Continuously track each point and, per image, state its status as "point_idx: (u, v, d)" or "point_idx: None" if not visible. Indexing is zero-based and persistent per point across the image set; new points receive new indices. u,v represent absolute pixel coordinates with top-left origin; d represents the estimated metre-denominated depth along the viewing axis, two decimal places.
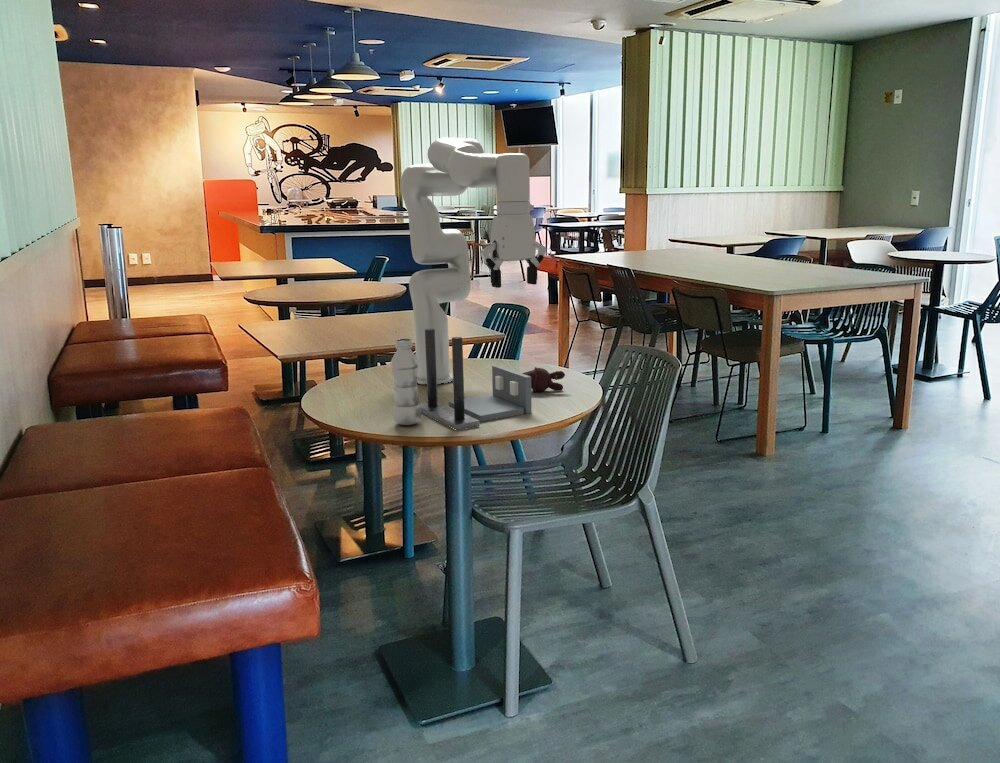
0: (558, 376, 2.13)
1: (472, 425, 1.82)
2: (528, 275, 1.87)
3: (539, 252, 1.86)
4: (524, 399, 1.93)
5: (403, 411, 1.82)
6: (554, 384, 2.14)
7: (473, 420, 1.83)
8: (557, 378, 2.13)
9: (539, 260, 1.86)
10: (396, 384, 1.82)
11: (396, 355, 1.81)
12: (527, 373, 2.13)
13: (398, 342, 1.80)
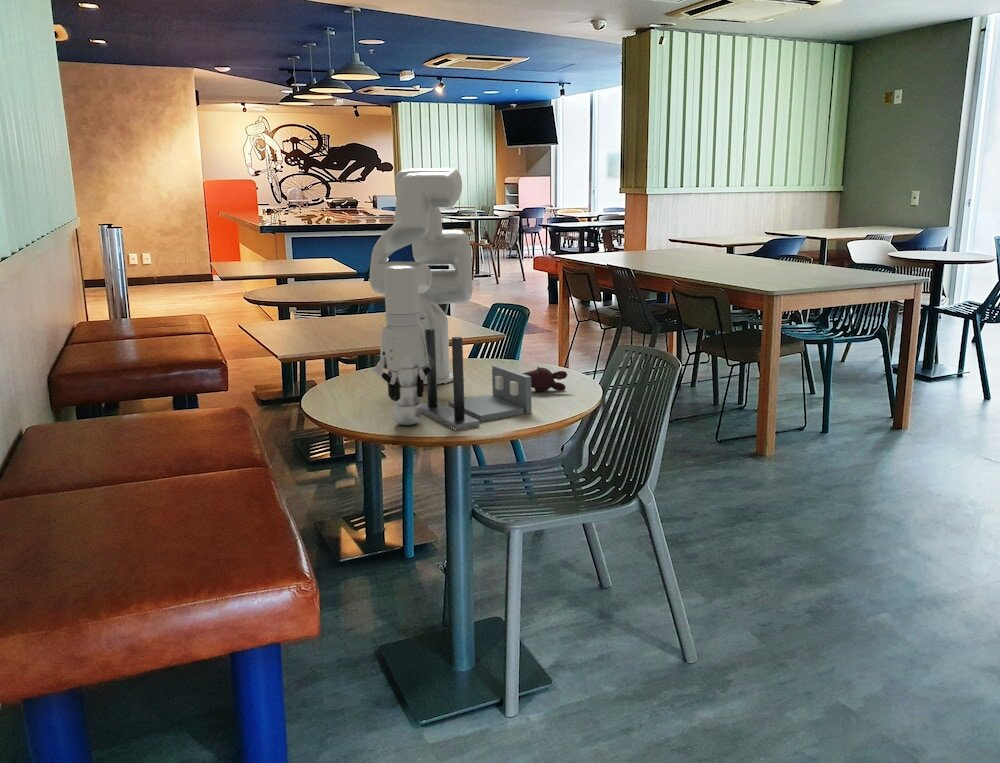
0: (560, 376, 2.13)
1: (472, 425, 1.82)
2: None
3: (427, 364, 1.86)
4: (524, 399, 1.93)
5: (403, 411, 1.82)
6: (556, 384, 2.14)
7: (473, 420, 1.83)
8: (559, 378, 2.13)
9: (425, 373, 1.85)
10: None
11: None
12: (529, 373, 2.13)
13: None
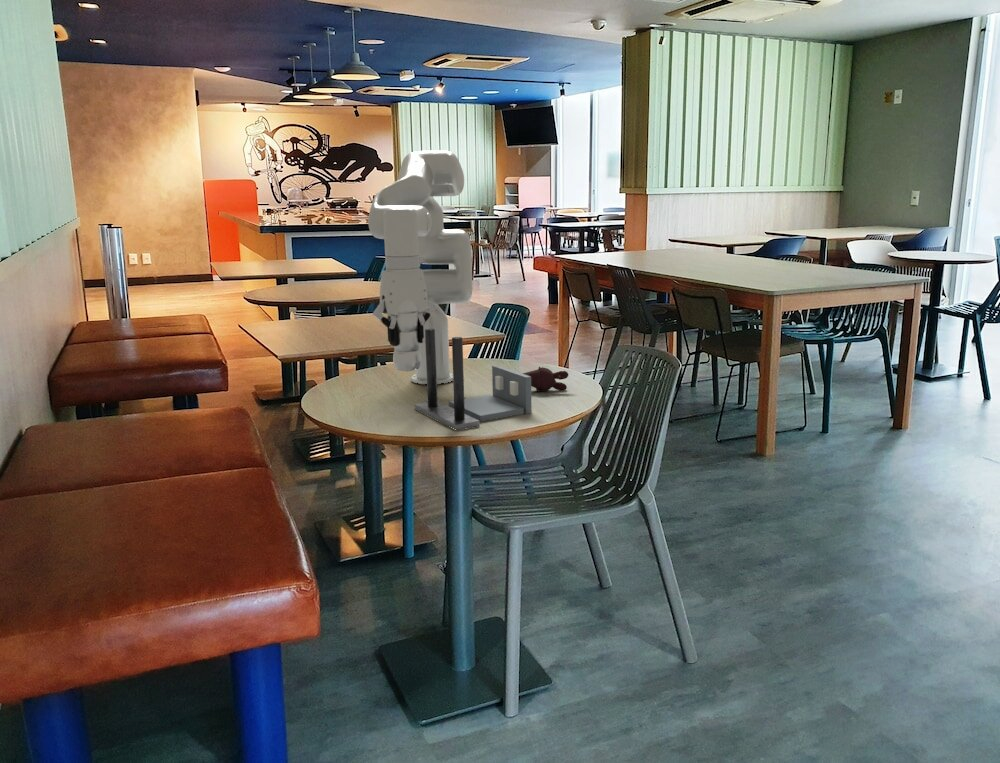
0: (561, 376, 2.13)
1: (472, 425, 1.82)
2: None
3: (427, 310, 1.83)
4: (524, 399, 1.93)
5: (403, 356, 1.80)
6: (558, 384, 2.14)
7: (473, 420, 1.83)
8: (560, 378, 2.13)
9: (425, 318, 1.83)
10: None
11: None
12: (531, 372, 2.13)
13: None
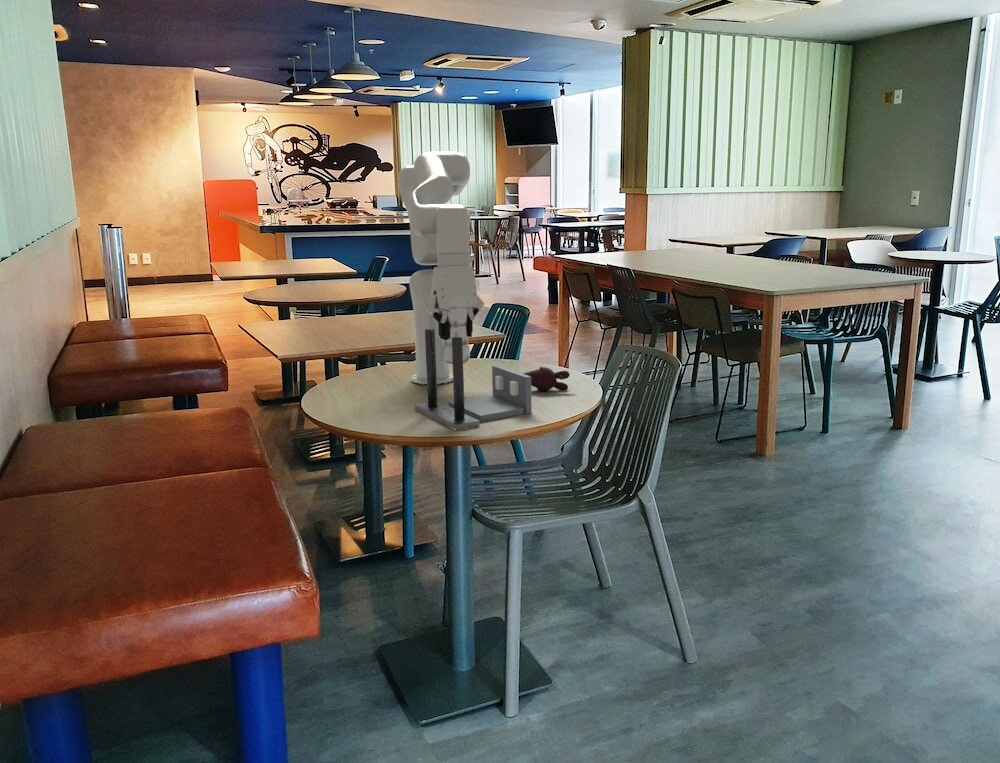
0: (563, 376, 2.13)
1: (472, 425, 1.82)
2: None
3: (476, 305, 1.90)
4: (524, 399, 1.93)
5: None
6: (559, 384, 2.14)
7: (473, 420, 1.83)
8: (562, 378, 2.13)
9: (474, 313, 1.89)
10: None
11: None
12: (532, 372, 2.13)
13: None
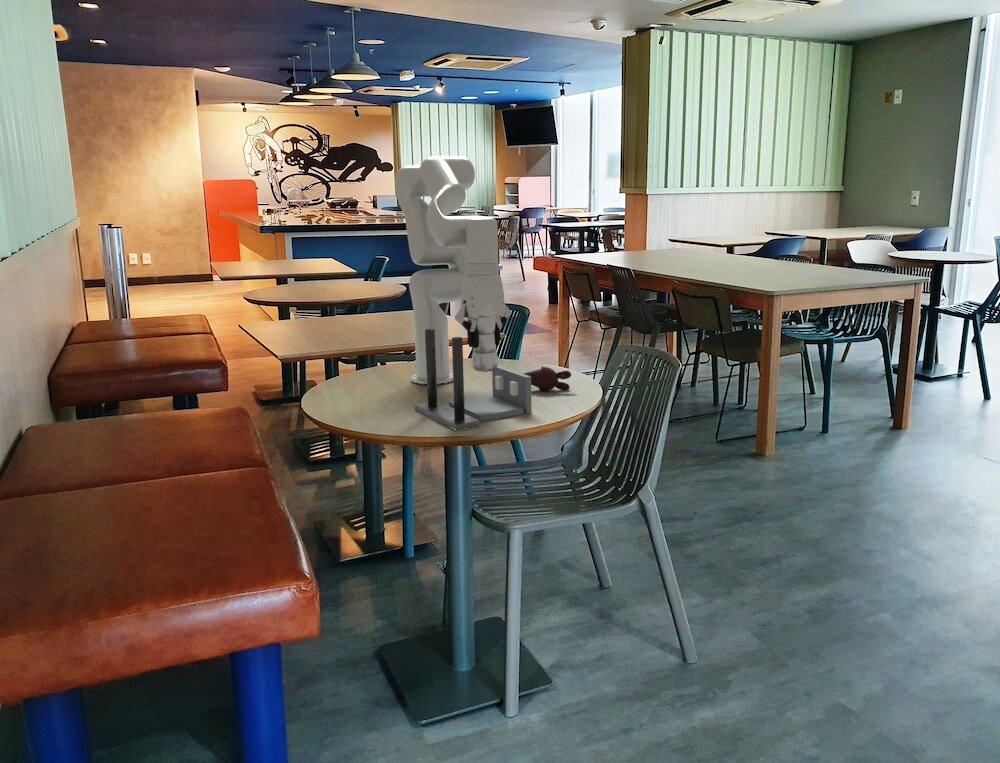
0: (564, 376, 2.13)
1: (472, 425, 1.82)
2: None
3: (503, 314, 1.94)
4: (524, 399, 1.93)
5: (482, 357, 1.90)
6: (560, 384, 2.15)
7: (473, 420, 1.83)
8: (563, 378, 2.13)
9: (502, 322, 1.93)
10: (476, 331, 1.90)
11: None
12: (533, 372, 2.14)
13: None
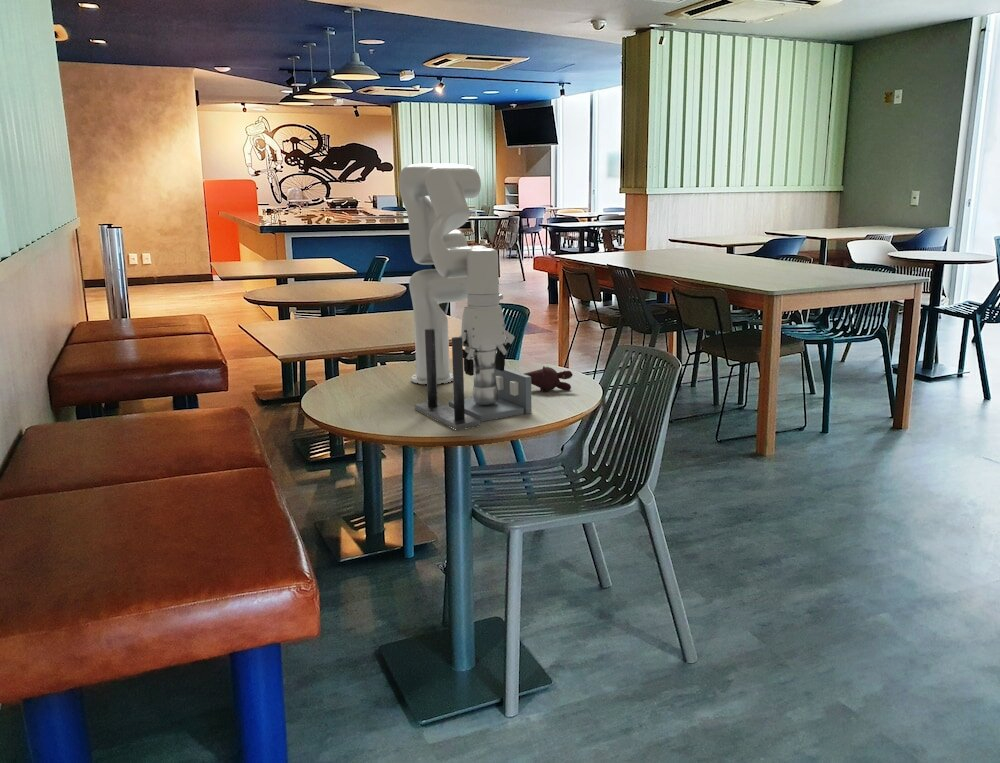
0: (565, 376, 2.13)
1: (472, 425, 1.82)
2: (496, 361, 1.97)
3: (507, 340, 1.96)
4: (524, 399, 1.93)
5: (483, 391, 1.92)
6: (562, 383, 2.15)
7: (473, 420, 1.83)
8: (564, 378, 2.13)
9: (506, 348, 1.95)
10: (476, 366, 1.92)
11: None
12: (535, 372, 2.14)
13: None
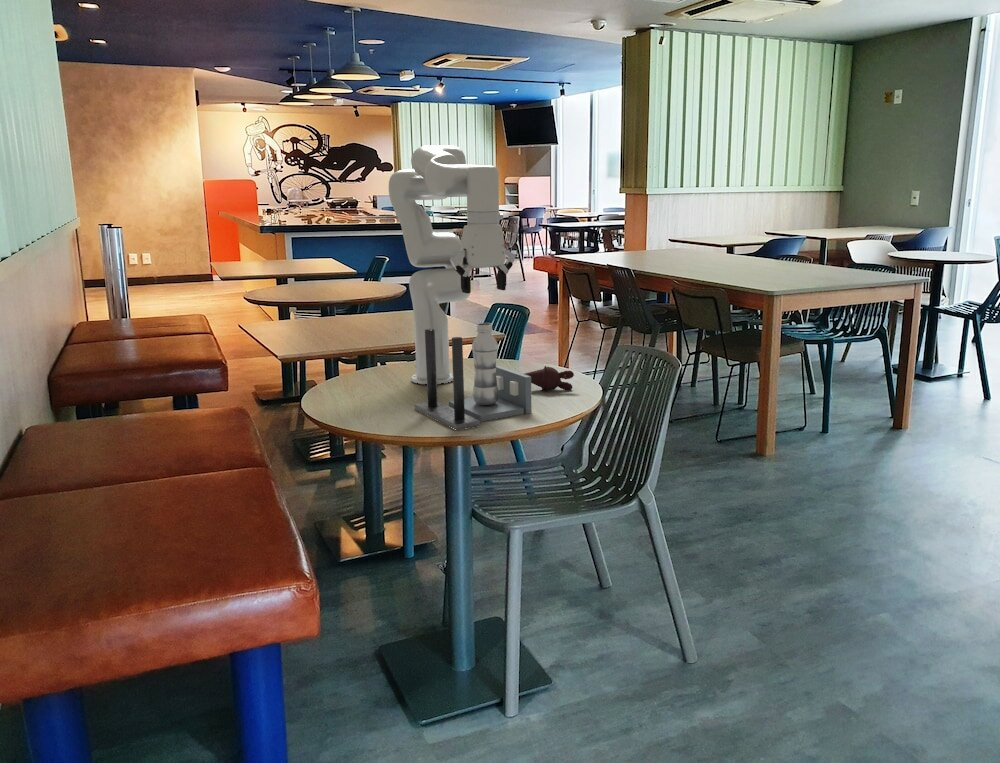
0: (567, 375, 2.13)
1: (472, 425, 1.82)
2: (498, 281, 1.96)
3: (508, 259, 1.95)
4: (524, 399, 1.93)
5: (483, 391, 1.92)
6: (563, 383, 2.15)
7: (473, 420, 1.83)
8: (566, 377, 2.14)
9: (508, 267, 1.94)
10: (477, 366, 1.92)
11: (478, 338, 1.91)
12: (536, 372, 2.14)
13: (480, 326, 1.90)
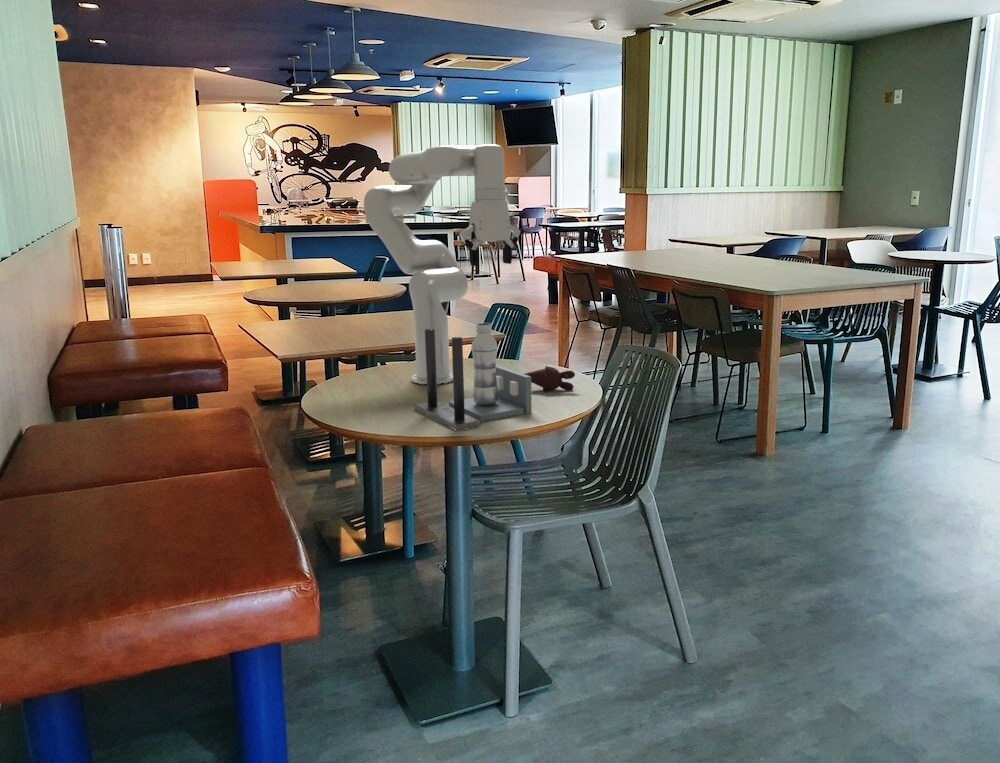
0: (568, 375, 2.13)
1: (472, 425, 1.82)
2: (504, 255, 2.07)
3: (514, 234, 2.06)
4: (524, 399, 1.93)
5: (483, 391, 1.92)
6: (564, 383, 2.15)
7: (473, 420, 1.83)
8: (567, 377, 2.14)
9: (514, 241, 2.06)
10: (476, 366, 1.92)
11: (477, 338, 1.91)
12: (537, 372, 2.14)
13: (479, 326, 1.90)
